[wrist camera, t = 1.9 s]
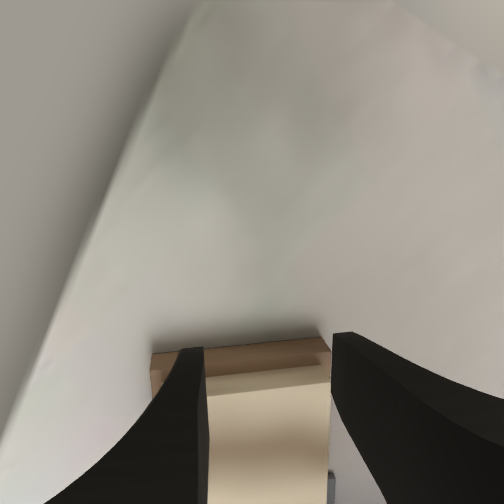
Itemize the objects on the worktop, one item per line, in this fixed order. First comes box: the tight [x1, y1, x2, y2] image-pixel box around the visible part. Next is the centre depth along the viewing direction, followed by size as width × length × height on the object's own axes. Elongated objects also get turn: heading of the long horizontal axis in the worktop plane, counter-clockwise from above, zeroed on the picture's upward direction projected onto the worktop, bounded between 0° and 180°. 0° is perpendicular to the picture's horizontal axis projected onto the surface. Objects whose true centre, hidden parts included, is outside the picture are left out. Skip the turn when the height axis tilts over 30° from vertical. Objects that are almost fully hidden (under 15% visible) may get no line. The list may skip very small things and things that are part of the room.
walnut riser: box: [150, 337, 331, 398], centre depth 21 cm, size 9×9×2 cm
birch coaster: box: [161, 365, 331, 504], centre depth 20 cm, size 8×8×2 cm
